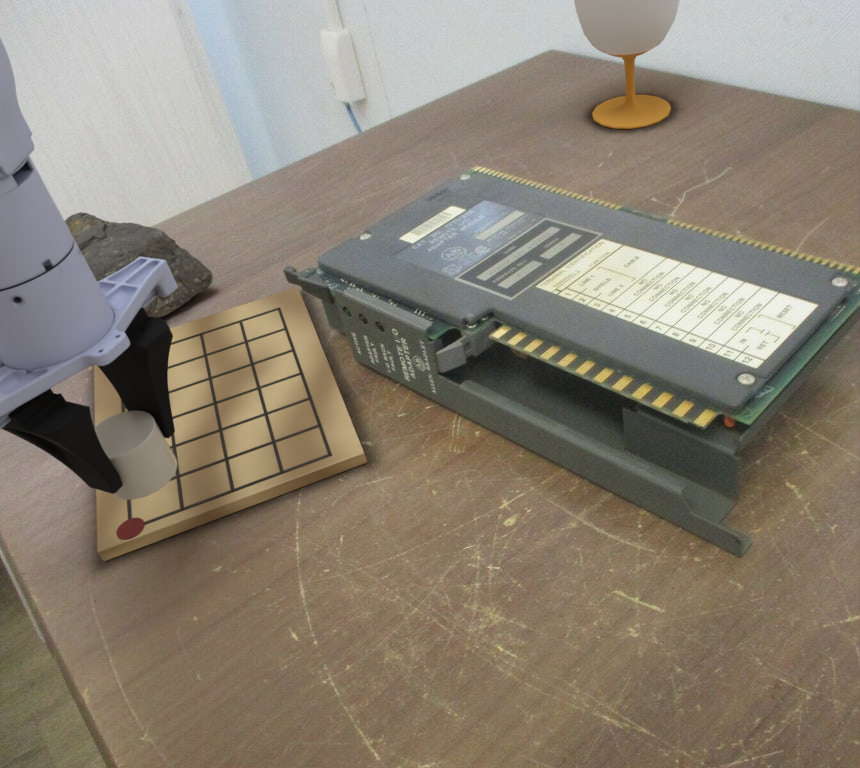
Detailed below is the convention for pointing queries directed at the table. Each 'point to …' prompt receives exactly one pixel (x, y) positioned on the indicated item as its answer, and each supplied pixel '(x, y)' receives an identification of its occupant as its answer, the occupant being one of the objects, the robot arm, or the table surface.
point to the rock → (125, 243)
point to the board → (235, 422)
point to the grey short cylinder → (137, 453)
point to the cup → (627, 52)
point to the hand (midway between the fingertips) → (133, 458)
